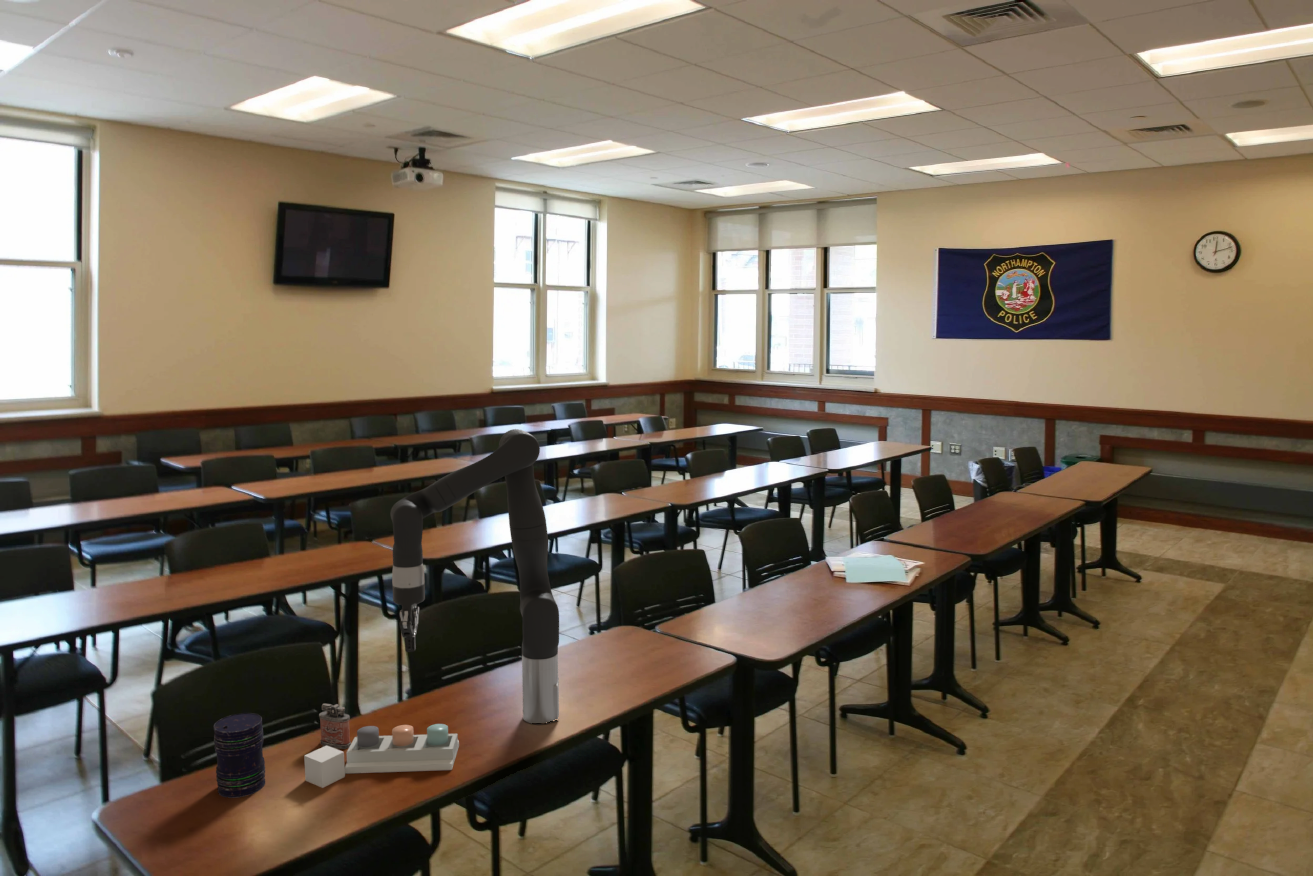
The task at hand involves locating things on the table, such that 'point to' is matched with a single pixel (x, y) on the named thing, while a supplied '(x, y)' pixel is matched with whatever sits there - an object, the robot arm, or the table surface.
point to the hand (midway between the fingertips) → (410, 650)
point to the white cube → (324, 766)
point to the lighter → (334, 727)
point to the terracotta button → (402, 735)
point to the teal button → (437, 734)
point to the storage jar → (239, 755)
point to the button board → (402, 756)
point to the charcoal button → (368, 736)
